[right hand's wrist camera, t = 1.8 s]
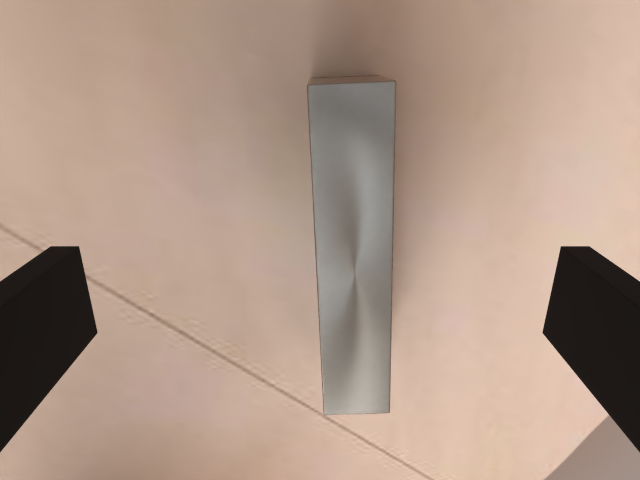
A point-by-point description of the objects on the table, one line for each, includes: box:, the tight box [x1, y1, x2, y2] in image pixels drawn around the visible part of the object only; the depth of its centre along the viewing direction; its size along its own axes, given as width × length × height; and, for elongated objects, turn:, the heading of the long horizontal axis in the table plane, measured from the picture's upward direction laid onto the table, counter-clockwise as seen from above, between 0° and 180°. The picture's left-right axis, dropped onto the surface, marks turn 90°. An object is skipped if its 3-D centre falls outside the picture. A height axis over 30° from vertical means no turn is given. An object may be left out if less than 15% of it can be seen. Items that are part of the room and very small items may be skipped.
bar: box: [307, 75, 396, 415], centre depth 35 cm, size 25×5×9 cm, turn 2°
